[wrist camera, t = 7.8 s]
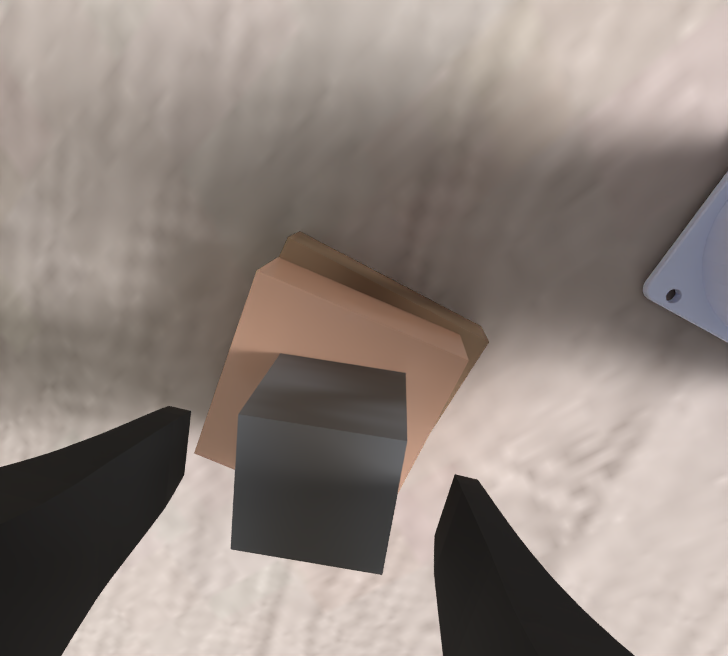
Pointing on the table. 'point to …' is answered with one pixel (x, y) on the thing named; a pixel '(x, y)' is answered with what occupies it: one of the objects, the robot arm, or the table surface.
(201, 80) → the table surface
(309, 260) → the walnut slab
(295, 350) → the terracotta slab
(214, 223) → the table surface
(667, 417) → the table surface
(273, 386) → the charcoal cube
